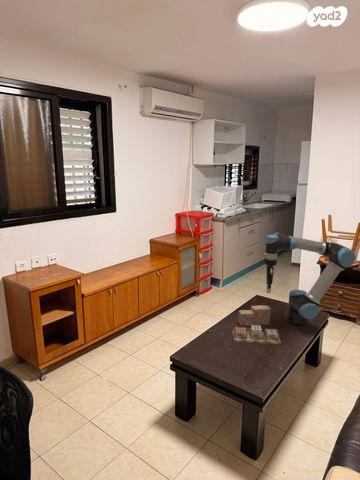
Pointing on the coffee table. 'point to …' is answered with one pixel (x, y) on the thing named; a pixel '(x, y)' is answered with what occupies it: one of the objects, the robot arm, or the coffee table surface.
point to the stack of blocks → (255, 316)
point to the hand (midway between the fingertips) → (268, 292)
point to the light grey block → (271, 332)
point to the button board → (255, 337)
